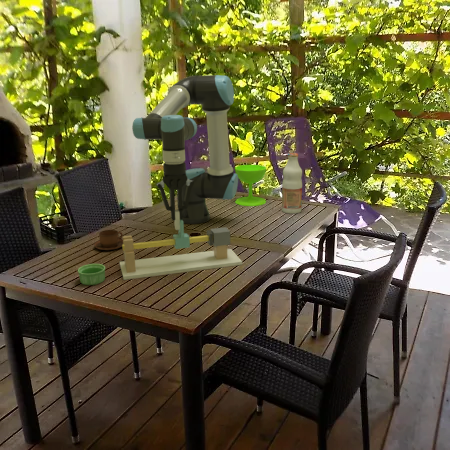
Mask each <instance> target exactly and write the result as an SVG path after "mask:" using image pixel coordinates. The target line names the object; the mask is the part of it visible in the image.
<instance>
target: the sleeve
mask: <svg viewBox="0 0 450 450" xmlns="http://www.w3.org/2000/svg"><path fill="white" fill-rule="evenodd" d="M184 224H185V223H183V220H180V230H177V232H178V233H177V234H173V235H172V237H173V238H172V239H175V245H173V246H174V248H175V249H176V250H179V249H185V248H186V249H187V248H188V249H189V248H191V245H190V244H191V243H190V240H189V237H190V235H189V234H188V233H185V230H184V229H185V228H184V227H185V226H184Z"/></svg>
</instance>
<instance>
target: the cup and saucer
mask: <svg viewBox="0 0 450 450" xmlns="http://www.w3.org/2000/svg"><path fill="white" fill-rule="evenodd" d="M119 234H120V237H119ZM98 235H99V236H98V237H99V240H97V241H95V242H94V243H93V246H94V247H95V248H96V249H98V250H101V251H113V250H117V249H119V248H122V245H123V235H124V234H123V232H121V231H118V230H116V229H105V230H102V231H100V232H98Z"/></svg>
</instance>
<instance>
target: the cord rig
mask: <svg viewBox="0 0 450 450" xmlns="http://www.w3.org/2000/svg"><path fill="white" fill-rule="evenodd" d="M122 239H123V245H122V247H121V248H122V251H123V259H124V260H123V261H122V260H121V261H119V267H120V271H121V274H122V279H123V281H125V280H132V279H133V280H134V279H142V278H149V277H156V276H157V277H158V276H163V275H170V274H171V275H172V274H178V273H179V274H180V273H187V272H196V271H204V270H209V269H210V270H211V269H218V268H219V269H220V268H228V267H236V266H243V260H242V259H240V257H239V256H238V255H237V254H236V253H235V252H234V251H233V250H232V248H228V246H230V245H231V231H230V229H228V227H226V226H225V227H217V228H210V230H209V229H208V230H206V235H198V236H192V237H190V236H189V240H190V244H193V243H201V242H206V243H207V244H208V245H209V246H210V247H211V246H213V250H209V251H200V252H192V253H182V254H174V255H165V256H157V257H148V258H140V259H136V256H135V250H141V249H148V248H158V247H165V246H174V245H175V239H173V238H172V239H171V238H170V239H162V240H154V241H153V240H152V241H144V242H143V241H142V242H134V239H133V236H132V235H124V236H122Z"/></svg>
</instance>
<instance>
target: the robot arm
mask: <svg viewBox="0 0 450 450" xmlns="http://www.w3.org/2000/svg"><path fill="white" fill-rule="evenodd" d="M234 100H235V91H234V85H233V82H232V80H231V79H230V77H229V76H228V75H219V74H213V75H211V74H210V75H208V74H207V75H204V74H203V75H190V76H186V77H184V78H182V79H180V80H179V81H177V82H176V83H174V84H173V85H172V86H170V88H169V89H168V91H167V95H166V96H165V97H164V98H163V99H162V100H160V102H159V103H158V104H157V105H156V106H155V107H154V108H153V109H152V110H151V111H150V112H149V114H148V115H147V116H145V117H136V118H135V119H134V120H133V122H132V134H133V136H134V137H135V139H138V140H144V141H146V140H149V141H150V140H155V141H156V140H157V141H158V140H159V141H160V140H161V143H162V144H161V145H162V161H163V162H164V163H163V164H162V167H163V177H162V180H161V181H160V182H157V183H156V186H157V188H158V189H159V191H160V192H159V193H160V194H161V197H162V201H163V204H164V208H165V209H166V210H167V211H170V218H171V220H172V221H174V222H173V224H174V229H175V230H176V231H178V230H180V220H183V224H185V225H186V224H189V225H193V224H194V225H195V224H202V223H206V222H208V221H210V211H209V209H208V205H207V203H206V199H211V200H212V199H213V200H223V201H225V200H233V199H234V198H235V197H236V193H237V190H238V185H239V178H238V175H237V174H236V172H235V173H234V168H233V167H232V166H231V165H230V150H229V146H230V145H229V130H228V129H229V128H228V127H229V126H228V111H229V110H230V108H231V105H233V103H234V102H235V101H234ZM189 105H201V108H202V109H201V110H202V112H204V113H205V115H206V126H207V139H208V140H207V141H208V152H209V155H208V156H209V168H208V169H207V170H205V169H204V168H199V167H198V168H190V169H187V168H186V167H187V166H186V165H187V164H186V162H185V161H186V151H185V150H186V147H185V146H186V144H185V143H186V141H188V140H190V139H192V138H193V137H195V135H196V134H197V131H198V125H197V123H196V121H195V120H194V119H193V118H191V117H183V115H180V114H178V113H179V112H180V111H181V110H182V109H184V108H186V107H187V106H189ZM186 169H187V170H186ZM206 171H207V172H206ZM165 186H167V189H169V201H168V198H167V195H166V192H165V189H164V188H165ZM175 190H176V191H175ZM175 192H176V195H177V196H175ZM175 197H177V198H176V199H177V209H176V200H175Z"/></svg>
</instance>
